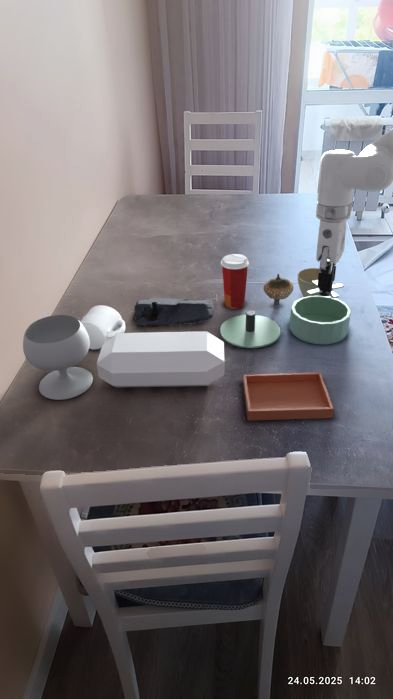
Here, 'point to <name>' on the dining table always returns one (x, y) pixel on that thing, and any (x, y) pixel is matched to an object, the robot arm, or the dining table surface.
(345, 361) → the dining table surface
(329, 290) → the blade
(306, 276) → the flower pot
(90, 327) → the mug
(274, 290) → the acorn
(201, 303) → the dark slate chunk
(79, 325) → the chalice
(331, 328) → the bowl
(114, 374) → the crystal
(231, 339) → the lid
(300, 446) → the dining table surface
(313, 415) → the tray
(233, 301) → the paper cup
